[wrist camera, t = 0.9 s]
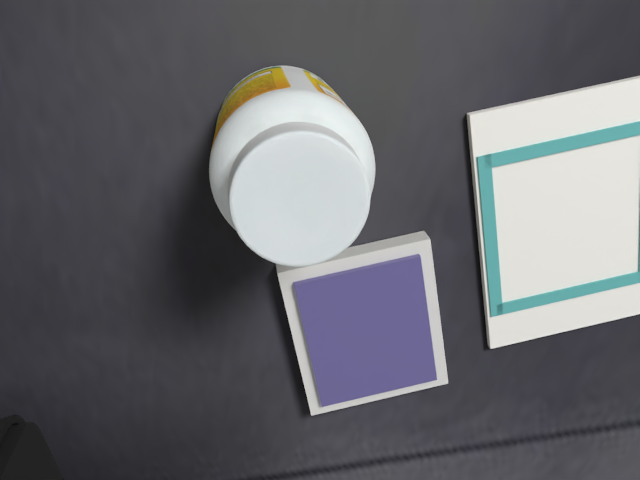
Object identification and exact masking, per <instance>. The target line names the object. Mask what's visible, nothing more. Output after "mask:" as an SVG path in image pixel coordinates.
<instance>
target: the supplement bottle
mask: <svg viewBox="0 0 640 480" xmlns="http://www.w3.org/2000/svg"><path fill="white" fill-rule="evenodd" d="M209 178H210V185H211V190H212V194H213V197H214V200H215V202H216V204H217V206H218V208H219V210H220V212H221V213H222V215H223V217H224V218H225V219H226V221H227V222H228V223H229V224H230V225H231V226H232V227H233V228H234V229H235V230H236V231H237V233H238V235H239V236H240V238H241V239H242V240H243V242H244V243H245V244H246V245H247V246H248V247H249V248H250V249H251V250H252V251H254V252H255V253H256V254H257V255H259V256H261V257H262V258H264V259H266V260H268V261H271V262H273V263H276V264H279V265H285V266H291V267H303V266H311V265H316V264H319V263H322V262H325V261H327V260H329V259H331V258H333V257H335V256H337V255H339V254H340V253H342V252H343V251H344V250H345V249H346V248H348V247H349V246H350V245H351V244H352V243H353V242H354V240H355V239H356V238H357V236H358V235H359V233H360V232H361V230H362V228H363V226H364V224H365V221H366V219H367V216H368V213H369V208H370V197H371V194H372V190H373V186H374V181H375V158H374V152H373V148H372V145H371V142H370V139H369V137H368V134H367V132H366V130H365V129H364V127H363V125H362V124H361V123H360V121H359V120H358V118H357V117H356V116H355V115H354V113H353V112H352V111H351V110H350V109H349V108H348V106H347V105H346V104H345V103H344V102H343V101H342V100H341V99H340V97H339V96H338V95H337V94H336V92H335V91H334V90H333V89H332V88H331V87H330V86H329V85H328V84H327V83H325V82H324V81H323V80H322V79H321V78H319V77H318V76H316V75H315V74H313V73H311V72H309V71H307V70H304V69H301V68H297V67H293V66H272V67H267V68H263V69H261V70H258V71H256V72H254V73H252V74H250V75H248V76H247V77H245V78H244V79H242V80H241V81H240V82H239V83H238V84H236V86H235V87H234V88H233V89H232V90H231V91H230V92H229V94H228V95H227V97H226V98H225V100H224V102H223V104H222V106H221V109H220V111H219V115H218V118H217V124H216V130H215V135H214V140H213V144H212V149H211V154H210V162H209Z"/></svg>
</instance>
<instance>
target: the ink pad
mask: <svg viewBox="0 0 640 480" xmlns="http://www.w3.org/2000/svg"><path fill="white" fill-rule="evenodd" d="M276 269H277V275H278V279H279V283H280V287H281V291H282V296H283V300H284V304H285V308H286V312H287V316H288V321H289V325H290V329H291V333H292V337H293V341H294V346H295V350H296V354H297V358H298V362H299V366H300V370H301V375H302V379H303V383H304V387H305V391H306V395H307V400H308V404H309V408H310V412H311V416H312V415H317V414H321V413H325V412H329V411H333V410H338V409H342V408H346V407H350V406H355V405H359V404H363V403H367V402H372V401H376V400H380V399H384V398H389V397H393V396H397V395H401V394H406V393H410V392H414V391H418V390H423V389H427V388H431V387H435V386H439V385H444V384H448V377H447V369H446V361H445V353H444V345H443V337H442V329H441V321H440V313H439V305H438V297H437V289H436V281H435V273H434V265H433V257H432V249H431V241H430V238H429V237H428V235H427V234H426V233H425V231H421V232H416V233H412V234H407V235H403V236H398V237H394V238H389V239H385V240H380V241H376V242H371V243H367V244H363V245H358V246H354V247H349V248H346V249H345V250H344V251H343V252H342V253H340V254H339V255H337V256H335V257H333V258H331V259H329V260H327V261H325V262H322V263H319V264H316V265H311V266H303V267H291V266H285V265H279V264H276Z"/></svg>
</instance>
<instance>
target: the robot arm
mask: <svg viewBox="0 0 640 480" xmlns="http://www.w3.org/2000/svg"><path fill="white" fill-rule="evenodd" d="M0 480H63V478H62V475H61V473H60V471H59V469H58V467H57V465H56V463H55V461H54V458H53V456H52V454H51V452H50V450H49V448H48V446H47V444H46V442H45V439H44V437H43V435H42V433H41V431H40V429H39V427H38V426H37V425H36V424H35V423H34V422H28V423H25V421H24V420H23V419H22V418H21V417H20V416H17V415H12V416H8V417H4V418H0Z"/></svg>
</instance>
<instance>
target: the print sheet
mask: <svg viewBox="0 0 640 480" xmlns="http://www.w3.org/2000/svg"><path fill="white" fill-rule="evenodd" d="M466 114H467V125H468V136H469V147H470V158H471V169H472V180H473V190H474V201H475V212H476V223H477V234H478V245H479V256H480V267H481V278H482V289H483V300H484V311H485V322H486V333H487V344H488V346H489V347H490V349H493V348H497V347H501V346H505V345H510V344H514V343H518V342H522V341H527V340H531V339H535V338H540V337H544V336H548V335H552V334H557V333H561V332H565V331H569V330H574V329H578V328H582V327H587V326H591V325H595V324H599V323H604V322H608V321H612V320H616V319H621V318H625V317H629V316H634V315H638V314H640V76H636V77H631V78H627V79H622V80H618V81H613V82H608V83H604V84H599V85H594V86H590V87H585V88H581V89H576V90H571V91H567V92H562V93H557V94H553V95H548V96H544V97H539V98H534V99H530V100H525V101H521V102H516V103H511V104H507V105H502V106H497V107H493V108H488V109H484V110H479V111H474V112H470V113H466Z"/></svg>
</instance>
